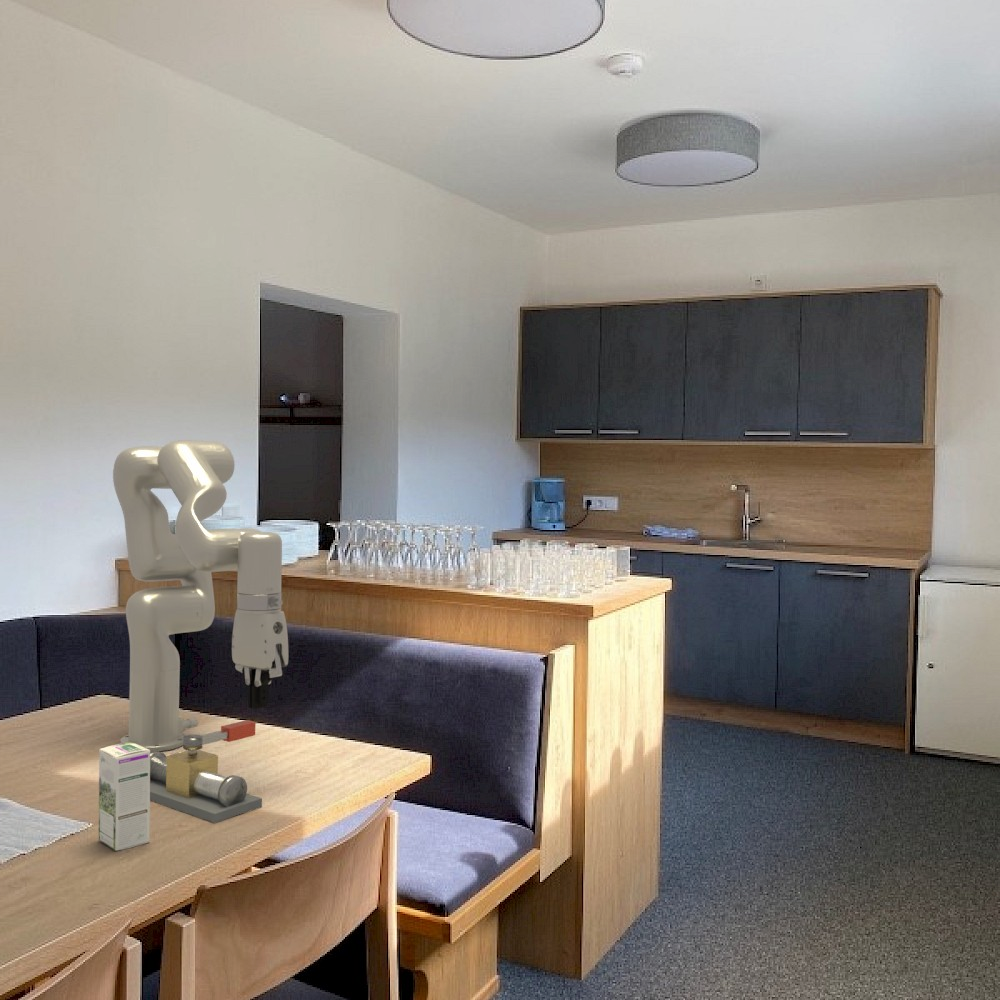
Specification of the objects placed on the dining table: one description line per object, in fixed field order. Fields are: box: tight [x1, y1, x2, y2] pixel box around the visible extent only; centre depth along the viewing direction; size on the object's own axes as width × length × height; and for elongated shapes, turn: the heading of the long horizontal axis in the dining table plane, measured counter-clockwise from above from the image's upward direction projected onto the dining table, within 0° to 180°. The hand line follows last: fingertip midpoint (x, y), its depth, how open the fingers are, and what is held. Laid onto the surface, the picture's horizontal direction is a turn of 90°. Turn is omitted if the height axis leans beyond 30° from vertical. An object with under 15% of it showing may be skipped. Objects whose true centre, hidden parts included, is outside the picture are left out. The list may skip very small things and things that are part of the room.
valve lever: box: [182, 719, 257, 756], centre depth 182 cm, size 15×3×3 cm, turn 145°
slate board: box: [150, 779, 263, 824], centre depth 177 cm, size 10×24×2 cm, turn 55°
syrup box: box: [98, 742, 151, 851], centre depth 157 cm, size 6×6×14 cm
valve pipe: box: [150, 749, 248, 807], centre depth 177 cm, size 6×22×7 cm, turn 55°
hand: (257, 706), depth 181 cm, fingers closed
